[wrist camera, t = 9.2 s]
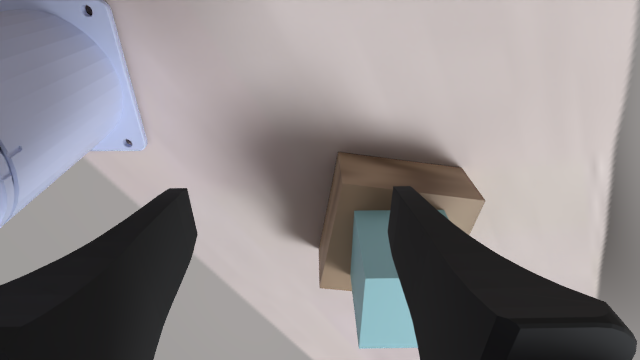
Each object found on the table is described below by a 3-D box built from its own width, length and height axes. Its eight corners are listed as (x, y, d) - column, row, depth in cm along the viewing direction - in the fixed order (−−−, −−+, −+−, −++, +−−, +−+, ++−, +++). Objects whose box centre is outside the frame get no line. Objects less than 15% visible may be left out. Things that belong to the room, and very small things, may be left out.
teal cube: (350, 275, 23) (359, 348, 18) (354, 210, 20) (365, 278, 16) (429, 274, 23) (456, 346, 18) (443, 209, 20) (479, 277, 16)
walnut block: (318, 246, 27) (319, 288, 23) (337, 149, 22) (342, 183, 19) (423, 256, 27) (438, 299, 24) (460, 165, 23) (485, 200, 20)
